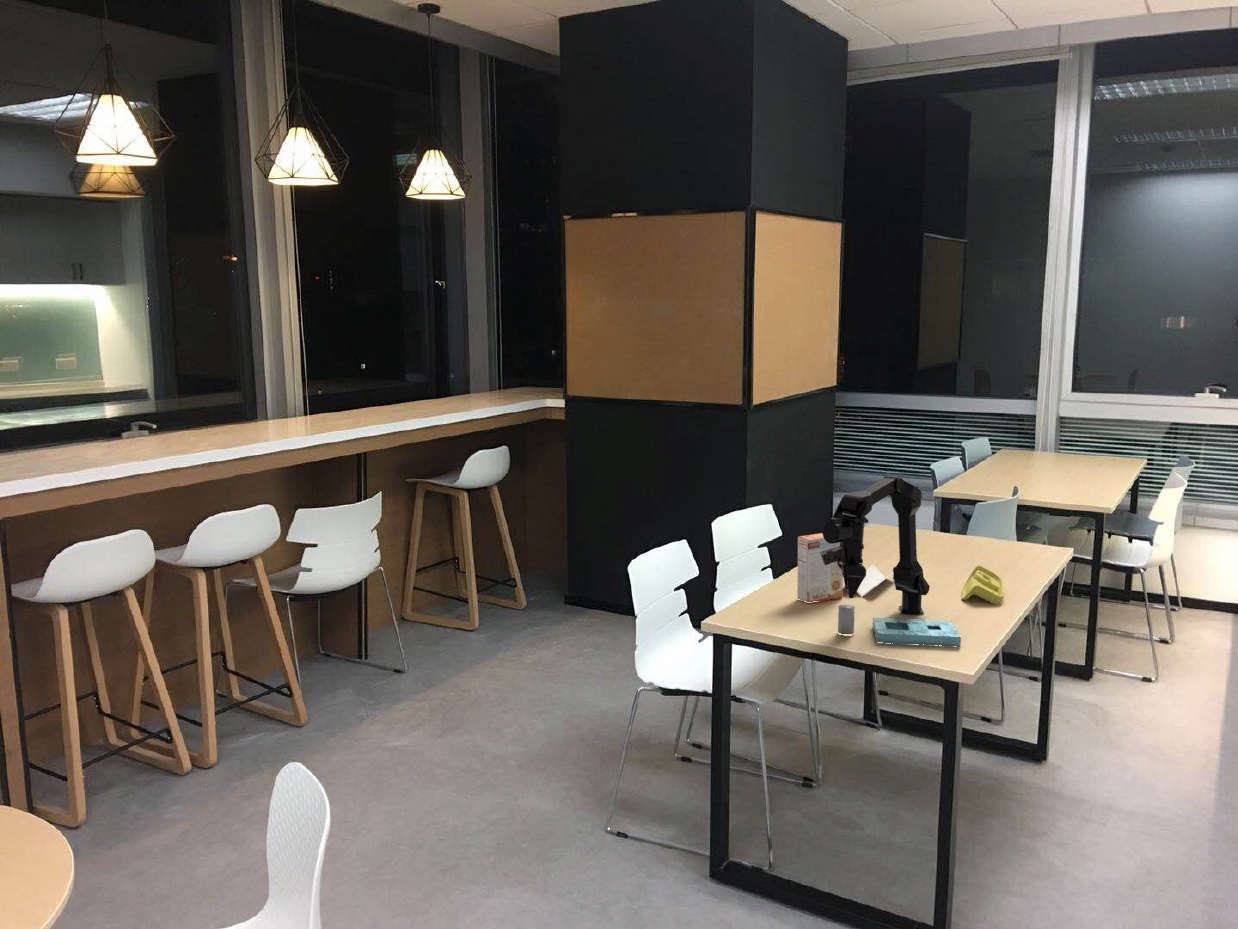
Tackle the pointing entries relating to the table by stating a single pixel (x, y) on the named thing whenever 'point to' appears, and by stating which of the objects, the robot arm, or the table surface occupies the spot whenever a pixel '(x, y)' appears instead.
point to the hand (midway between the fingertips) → (849, 594)
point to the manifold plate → (916, 631)
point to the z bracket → (870, 580)
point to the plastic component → (983, 585)
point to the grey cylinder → (846, 619)
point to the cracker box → (817, 571)
